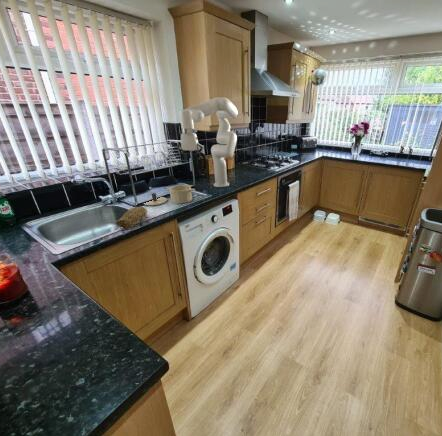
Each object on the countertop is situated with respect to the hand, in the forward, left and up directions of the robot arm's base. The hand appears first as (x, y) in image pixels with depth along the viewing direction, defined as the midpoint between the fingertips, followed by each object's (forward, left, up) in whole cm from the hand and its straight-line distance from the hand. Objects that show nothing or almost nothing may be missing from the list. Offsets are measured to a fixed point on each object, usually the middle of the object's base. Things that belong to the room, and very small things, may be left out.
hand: (191, 159), depth 159 cm
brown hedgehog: (+42, -20, -26) cm, 54 cm away
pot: (+6, -8, -26) cm, 28 cm away
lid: (+12, -24, -26) cm, 37 cm away
